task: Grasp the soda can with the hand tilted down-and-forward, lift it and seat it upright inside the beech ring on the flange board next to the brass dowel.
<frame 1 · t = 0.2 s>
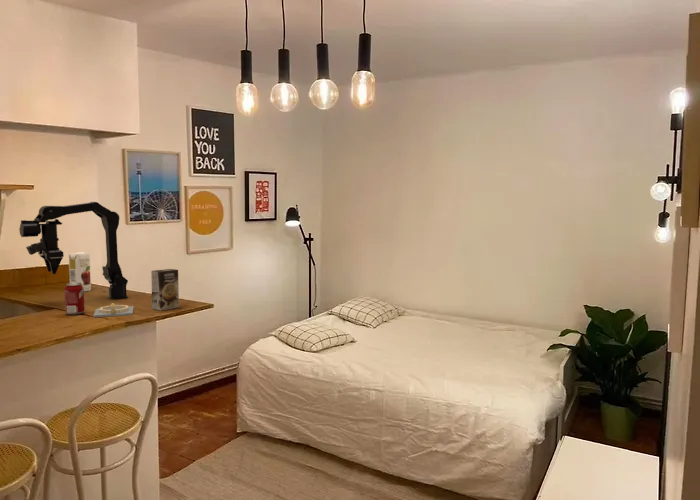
hand: (51, 272, 222), 14 cm above the countertop, tool pointing down, fingers open, 9 cm apart
soda can: (75, 314, 209), on the countertop
cookie box: (165, 308, 221), on the countertop
juice carton: (80, 291, 259), on the countertop
flange board: (114, 312, 212), on the countertop
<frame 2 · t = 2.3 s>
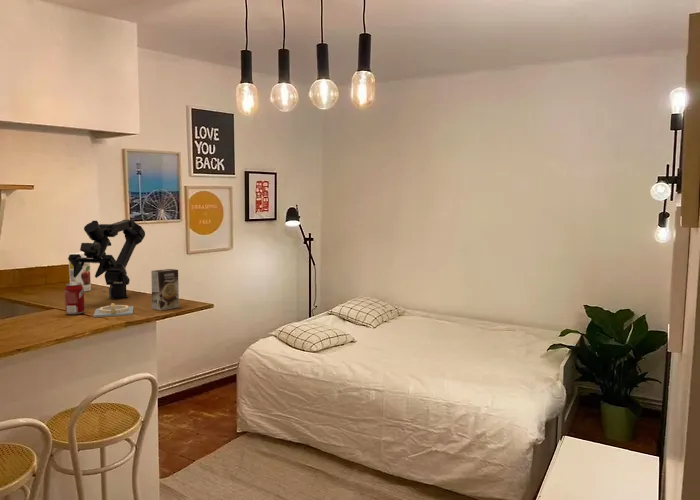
hand: (84, 277, 216), 13 cm above the countertop, tool tilted 45°, fingers open, 9 cm apart
nothing on the countertop moved.
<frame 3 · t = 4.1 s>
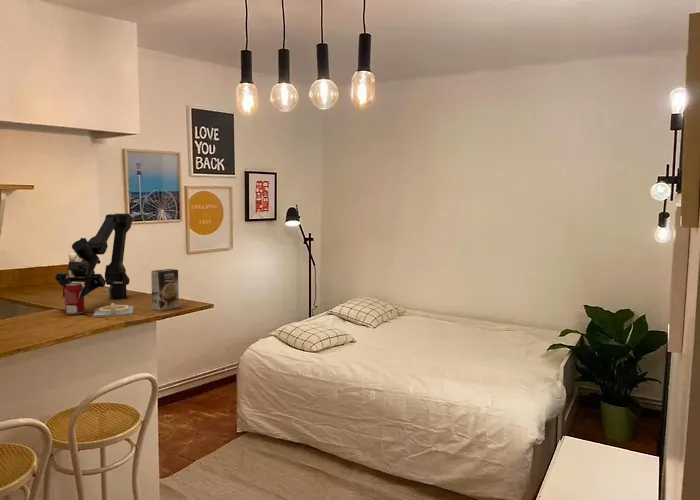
hand: (72, 297, 207), 7 cm above the countertop, tool tilted 45°, fingers closed on soda can, 7 cm apart
soda can: (75, 314, 209), on the countertop, touching gripper
everything else where it was.
when the fingers open (9 cm above the countertop, at t = 7.9 s): soda can drops 1 cm, resting on flange board.
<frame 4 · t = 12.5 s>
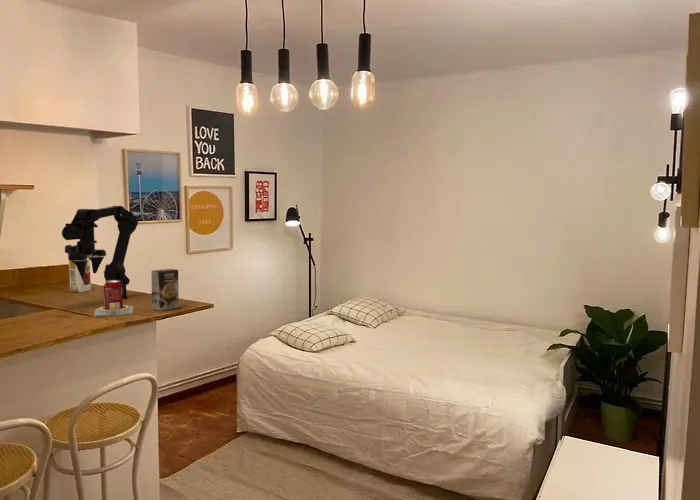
hand: (88, 274, 225), 13 cm above the countertop, tool pointing down, fingers open, 9 cm apart
soda can: (114, 311, 212), point 1 cm above the countertop, touching flange board
everything else where it was.
at the end: soda can 0.1 cm from the flange board (horizontally); soda can tilted 0°; the gripper is holding nothing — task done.
